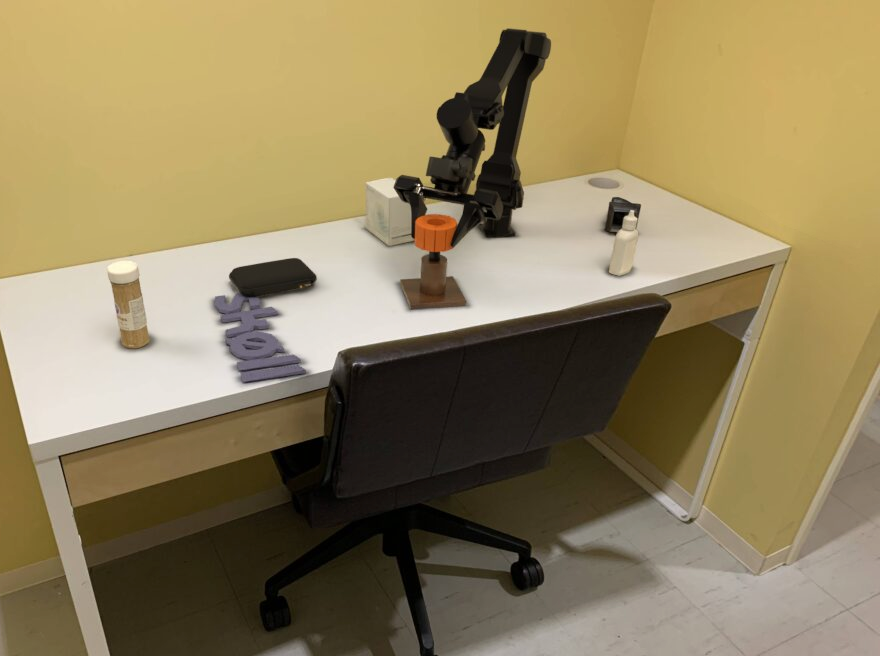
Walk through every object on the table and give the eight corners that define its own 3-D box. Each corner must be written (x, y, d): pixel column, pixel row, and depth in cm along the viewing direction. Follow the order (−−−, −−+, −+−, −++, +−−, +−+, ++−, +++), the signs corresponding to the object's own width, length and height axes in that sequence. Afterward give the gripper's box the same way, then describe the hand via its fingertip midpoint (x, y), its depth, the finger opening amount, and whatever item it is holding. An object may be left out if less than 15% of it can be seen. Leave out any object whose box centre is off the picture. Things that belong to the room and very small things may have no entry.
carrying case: (244, 305, 133) (322, 290, 139) (243, 289, 132) (322, 275, 137) (226, 281, 141) (301, 268, 147) (225, 266, 140) (300, 253, 145)
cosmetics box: (364, 229, 163) (364, 180, 157) (390, 224, 166) (391, 176, 160) (387, 246, 155) (388, 197, 150) (415, 241, 158) (417, 191, 152)
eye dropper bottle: (639, 273, 146) (652, 213, 139) (614, 277, 144) (626, 216, 138) (625, 264, 149) (637, 205, 143) (600, 268, 148) (612, 208, 141)
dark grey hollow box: (630, 215, 171) (636, 187, 167) (636, 238, 160) (643, 209, 156) (600, 213, 172) (605, 185, 168) (605, 236, 161) (610, 206, 157)
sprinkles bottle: (115, 343, 123) (100, 266, 115) (139, 332, 126) (125, 257, 118) (132, 352, 121) (118, 275, 113) (156, 341, 123) (143, 265, 116)
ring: (411, 236, 135) (412, 215, 133) (450, 234, 136) (451, 213, 133) (419, 253, 129) (420, 231, 127) (459, 250, 130) (461, 228, 128)
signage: (211, 296, 135) (266, 288, 138) (211, 299, 135) (267, 292, 138) (239, 380, 113) (305, 369, 115) (240, 384, 113) (305, 373, 116)
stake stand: (399, 284, 141) (401, 225, 135) (452, 280, 143) (456, 222, 136) (410, 309, 133) (413, 248, 127) (466, 305, 134) (471, 244, 128)
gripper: (399, 127, 129) (368, 211, 127) (504, 143, 122) (473, 232, 120) (417, 161, 139) (388, 239, 137) (515, 177, 132) (486, 260, 130)
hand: (432, 242), depth 131 cm, fingers closed on ring, 7 cm apart
